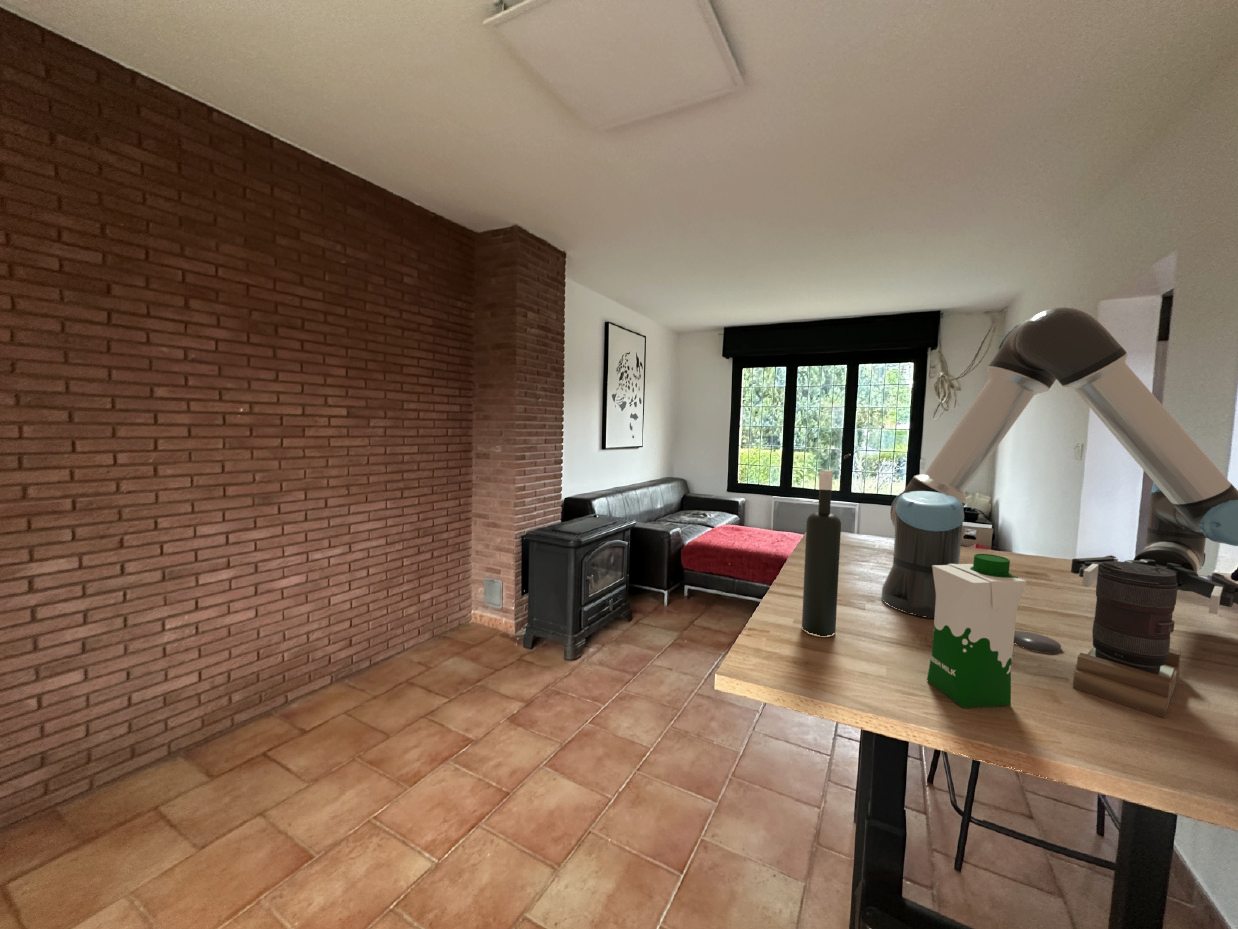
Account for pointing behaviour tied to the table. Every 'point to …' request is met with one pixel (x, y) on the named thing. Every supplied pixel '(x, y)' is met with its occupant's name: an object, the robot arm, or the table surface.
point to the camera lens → (1134, 614)
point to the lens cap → (1036, 642)
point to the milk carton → (975, 630)
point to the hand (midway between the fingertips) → (1145, 590)
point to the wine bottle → (821, 564)
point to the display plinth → (1128, 682)
